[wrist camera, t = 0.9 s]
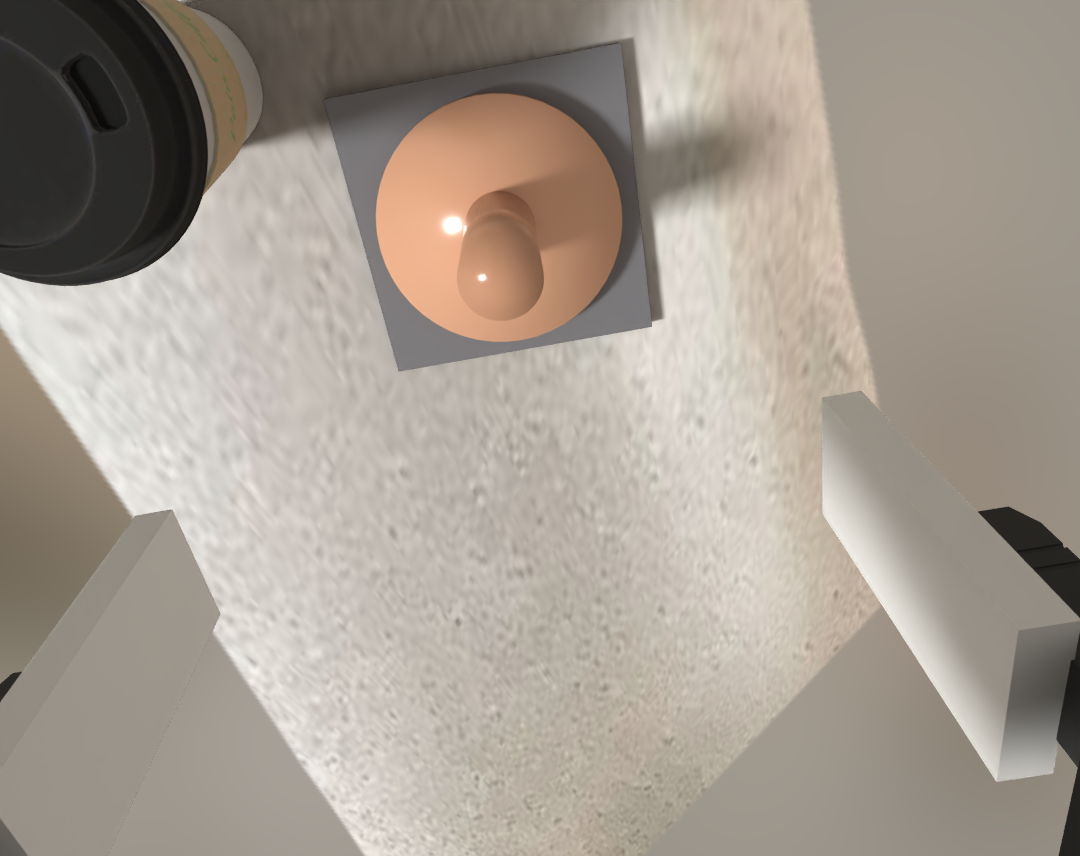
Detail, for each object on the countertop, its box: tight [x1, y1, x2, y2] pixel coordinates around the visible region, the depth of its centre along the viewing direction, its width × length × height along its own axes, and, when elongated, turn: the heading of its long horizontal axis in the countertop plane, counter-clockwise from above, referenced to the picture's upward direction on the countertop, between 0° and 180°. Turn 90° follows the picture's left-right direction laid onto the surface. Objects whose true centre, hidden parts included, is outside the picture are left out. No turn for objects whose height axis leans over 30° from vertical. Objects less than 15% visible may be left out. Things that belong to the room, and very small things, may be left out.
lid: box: [376, 92, 622, 342], centre depth 33 cm, size 11×11×9 cm
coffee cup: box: [0, 0, 263, 286], centre depth 28 cm, size 9×9×15 cm
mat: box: [323, 43, 652, 371], centre depth 37 cm, size 13×13×1 cm
